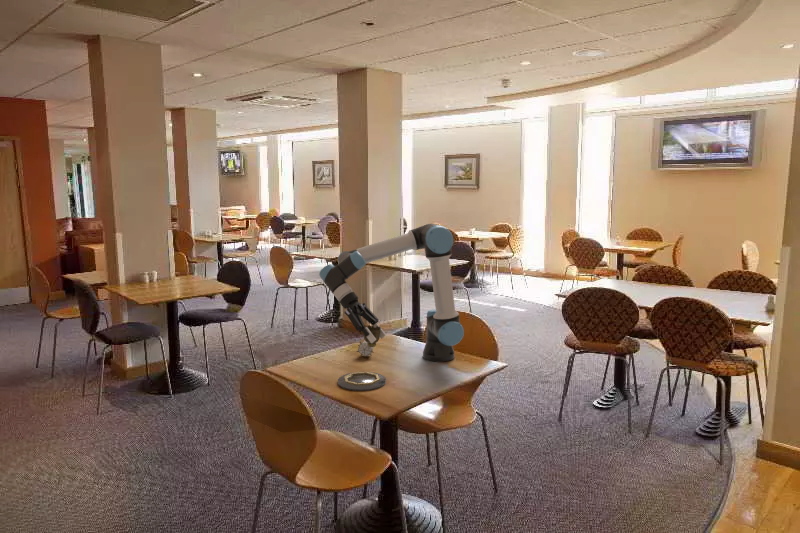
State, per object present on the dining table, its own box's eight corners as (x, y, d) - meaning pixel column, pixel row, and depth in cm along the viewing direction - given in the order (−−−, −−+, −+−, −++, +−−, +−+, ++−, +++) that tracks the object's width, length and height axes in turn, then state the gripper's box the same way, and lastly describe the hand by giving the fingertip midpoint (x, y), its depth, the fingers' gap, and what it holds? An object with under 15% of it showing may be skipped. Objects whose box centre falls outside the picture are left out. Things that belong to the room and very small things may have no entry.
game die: (364, 362, 283) (366, 343, 288) (377, 359, 278) (379, 340, 283) (351, 357, 277) (354, 337, 282) (364, 354, 272) (366, 334, 277)
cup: (359, 347, 242) (360, 328, 240) (366, 342, 249) (367, 324, 247) (376, 349, 239) (376, 330, 238) (383, 344, 246) (383, 326, 245)
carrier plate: (381, 372, 257) (381, 368, 257) (389, 388, 238) (389, 384, 237) (335, 376, 253) (335, 371, 253) (340, 392, 234) (340, 387, 233)
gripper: (353, 297, 257) (385, 338, 252) (327, 306, 239) (360, 350, 234) (364, 287, 254) (396, 328, 249) (337, 295, 236) (372, 339, 231)
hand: (378, 339), depth 242 cm, fingers closed on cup, 7 cm apart
